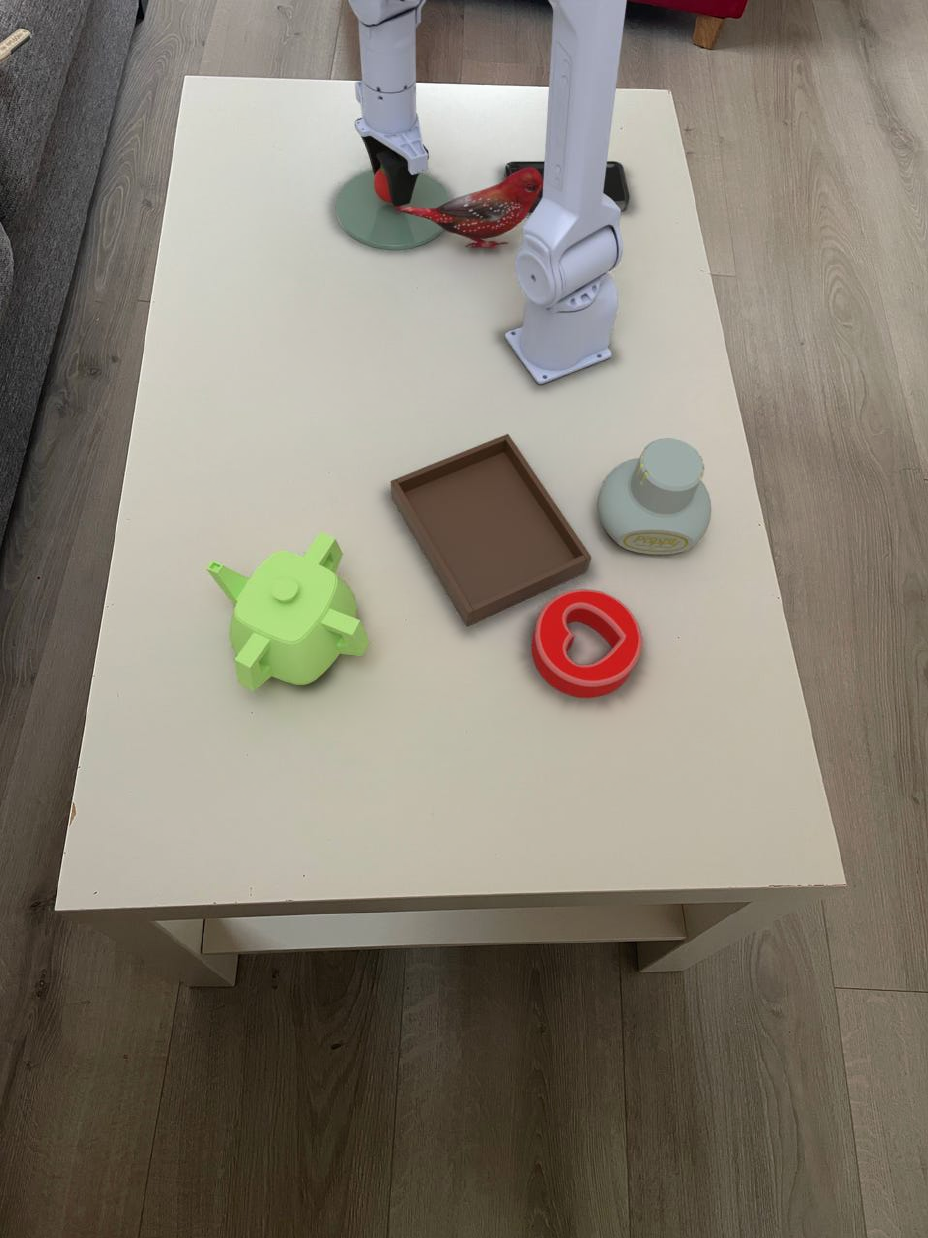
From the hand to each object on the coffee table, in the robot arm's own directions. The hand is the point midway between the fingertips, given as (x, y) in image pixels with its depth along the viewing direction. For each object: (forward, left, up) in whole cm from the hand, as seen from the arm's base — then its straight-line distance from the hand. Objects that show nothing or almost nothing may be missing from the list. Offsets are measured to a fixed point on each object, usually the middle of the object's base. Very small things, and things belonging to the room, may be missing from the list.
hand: (393, 191), depth 102 cm
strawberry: (0, 0, +1) cm, 1 cm away
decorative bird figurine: (-5, +10, +3) cm, 12 cm away
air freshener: (-3, +52, -3) cm, 52 cm away
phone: (-21, +6, -2) cm, 22 cm away
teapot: (+33, +48, -3) cm, 58 cm away
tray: (+12, +46, -2) cm, 48 cm away
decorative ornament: (+10, +61, -3) cm, 62 cm away
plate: (0, 0, -2) cm, 2 cm away
